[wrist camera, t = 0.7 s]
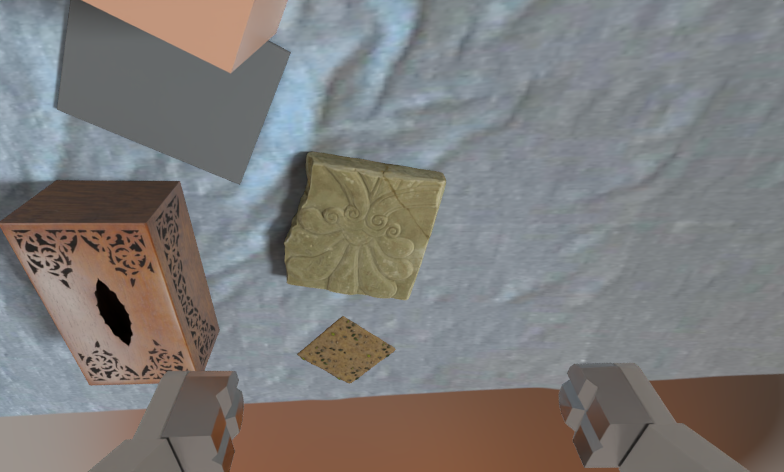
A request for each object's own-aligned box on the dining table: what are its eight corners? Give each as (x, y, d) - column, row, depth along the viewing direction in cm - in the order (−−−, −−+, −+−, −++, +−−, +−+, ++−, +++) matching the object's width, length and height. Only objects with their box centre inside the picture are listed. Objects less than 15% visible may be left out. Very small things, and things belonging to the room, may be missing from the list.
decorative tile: (445, 171, 54) (450, 184, 51) (406, 289, 64) (408, 305, 61) (297, 143, 50) (293, 154, 47) (282, 272, 61) (278, 288, 58)
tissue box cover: (57, 179, 51) (-2, 222, 42) (180, 180, 52) (146, 222, 43) (124, 330, 65) (89, 385, 57) (220, 328, 66) (199, 382, 58)
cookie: (342, 312, 66) (342, 317, 65) (397, 347, 71) (397, 351, 70) (295, 352, 70) (294, 356, 69) (350, 382, 75) (350, 386, 75)
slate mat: (81, -59, 38) (77, -59, 38) (290, 52, 44) (290, 53, 44) (60, 107, 46) (57, 109, 45) (240, 182, 52) (239, 184, 52)
